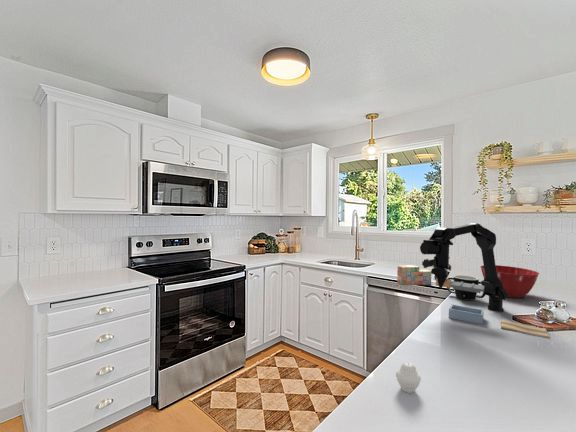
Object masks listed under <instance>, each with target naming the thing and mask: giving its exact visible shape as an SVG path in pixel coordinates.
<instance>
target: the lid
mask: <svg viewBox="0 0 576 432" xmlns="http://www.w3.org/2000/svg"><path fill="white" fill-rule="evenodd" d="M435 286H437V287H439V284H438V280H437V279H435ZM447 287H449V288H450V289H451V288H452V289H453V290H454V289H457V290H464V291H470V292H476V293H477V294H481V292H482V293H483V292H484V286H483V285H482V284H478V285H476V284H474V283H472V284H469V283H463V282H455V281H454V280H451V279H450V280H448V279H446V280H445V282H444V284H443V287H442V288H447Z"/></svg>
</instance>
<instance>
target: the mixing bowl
mask: <svg viewBox="0 0 576 432" xmlns="http://www.w3.org/2000/svg"><path fill="white" fill-rule="evenodd" d="M495 265H496V264H495ZM480 270H481V273H482V278H483V279H484V278H485V271H484V264H483V265H481V266H480ZM496 272H497V277H498V278H499V280H500V281H501V282H502V285H503V288H504V290H505V291H506V293H507V294H508V298H512V299H513V298H514V299H516V298H517V299H520V298H522V297H526V296H527V295H528V294H529V293H530V292H531V291H532V289H533V288H534V286H535V284H536V282H537V279H538V277H539V275H540V272H538V271H536V270H533V269H527V268H523V267H516V266H509V265H507V266H506V265H500V264H499V265H498V264H497V265H496Z"/></svg>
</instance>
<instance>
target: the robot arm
mask: <svg viewBox="0 0 576 432" xmlns="http://www.w3.org/2000/svg"><path fill="white" fill-rule="evenodd" d="M466 234H471V236H472V237H473V238H475V242H476V245H477V246H478V247H479V248H480V250H481V257H482V262H483V265H484V271H485V278H484V277H483V280H481V281H480V282H481V284H480V285H483V286H484V293H485V296H488V305H487V310H490V311H496V312H501V313H502V312H504V307H503V304H504V300H506V301H507V300H508V298H509V297H508V294H507V293H506V291H505V290H504V288H503V285H502V282H501V281H500V280H499V278H498V277H497V272H496V259H495V253H494V248H495V246H496V245H497V236H496V233H494V232H492V231H491V230H490V229H488V228H486V227H484V226H483V225H482V224H480V223H478V222H475V223H474V222H471V223H468V224H463V225H459V226H458V225H457V226H454V227H453V226H452V227H436V228H435V229H434V231H433V233H432V234H431V236H430V237H429V239H423V241H422V243H421V244H420V246H419V250H420V253H421V254H422V255H434V256H433V258H431V259H430V258H425V259H423V261H422V262H421V266H423V268H424V269H427V268H432V267H431V266H433V267H434V268H432V269H431V270H430V271H431V275H434V276H436V277H437V280H438V284H439V286H438V288H439V289H442V288H444V287H443V284H444V282H445V280H446V279H447V278H449V275H450V273H451V272H450V271H452V265H451V264H450V246H453V245H454V242H452V239H455V238H456V237H457V236H461V235H462V236H463V235H466Z"/></svg>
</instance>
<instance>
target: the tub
mask: <svg viewBox="0 0 576 432" xmlns="http://www.w3.org/2000/svg"><path fill="white" fill-rule="evenodd" d="M484 312H485V311H484V309H481V308H477V307H471V306H470V307H469V306H465V305H458V304H450V305H449V307H448V318H449V319H452V320H453V319H454V320H458V321H459V320H460V321H463V322H468V323H469V322H470V323H474V324H479V325H484V316H485V315H484Z"/></svg>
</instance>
